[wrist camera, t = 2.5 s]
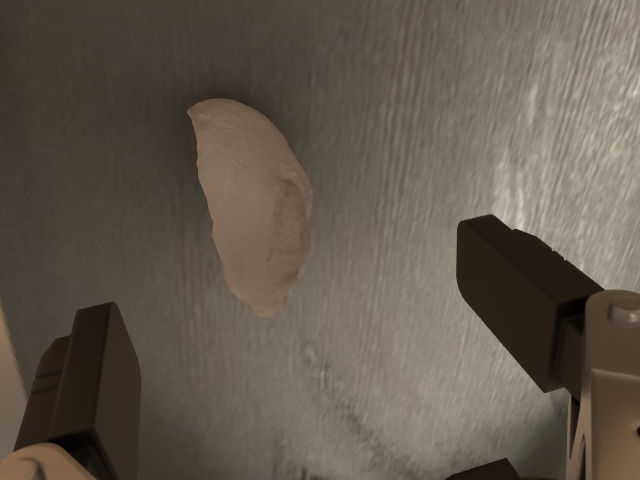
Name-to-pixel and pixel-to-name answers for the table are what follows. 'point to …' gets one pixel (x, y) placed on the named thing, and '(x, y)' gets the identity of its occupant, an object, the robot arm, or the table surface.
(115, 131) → the table surface
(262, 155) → the fossil
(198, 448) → the table surface
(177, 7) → the table surface
